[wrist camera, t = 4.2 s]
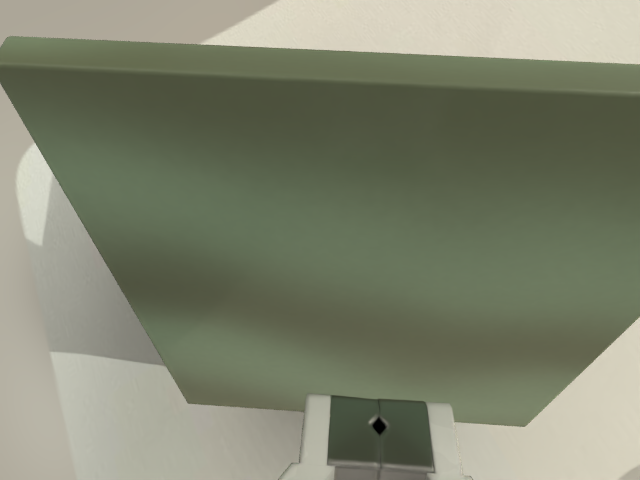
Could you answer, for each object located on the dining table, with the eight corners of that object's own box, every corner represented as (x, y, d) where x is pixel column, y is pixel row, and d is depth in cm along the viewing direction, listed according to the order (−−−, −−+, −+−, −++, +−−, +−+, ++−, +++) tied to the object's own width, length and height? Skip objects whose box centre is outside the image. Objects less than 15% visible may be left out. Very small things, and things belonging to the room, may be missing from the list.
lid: (6, 34, 9) (-14, 64, 9) (839, 71, 9) (863, 105, 8) (191, 385, 23) (187, 404, 22) (522, 407, 22) (525, 427, 22)
